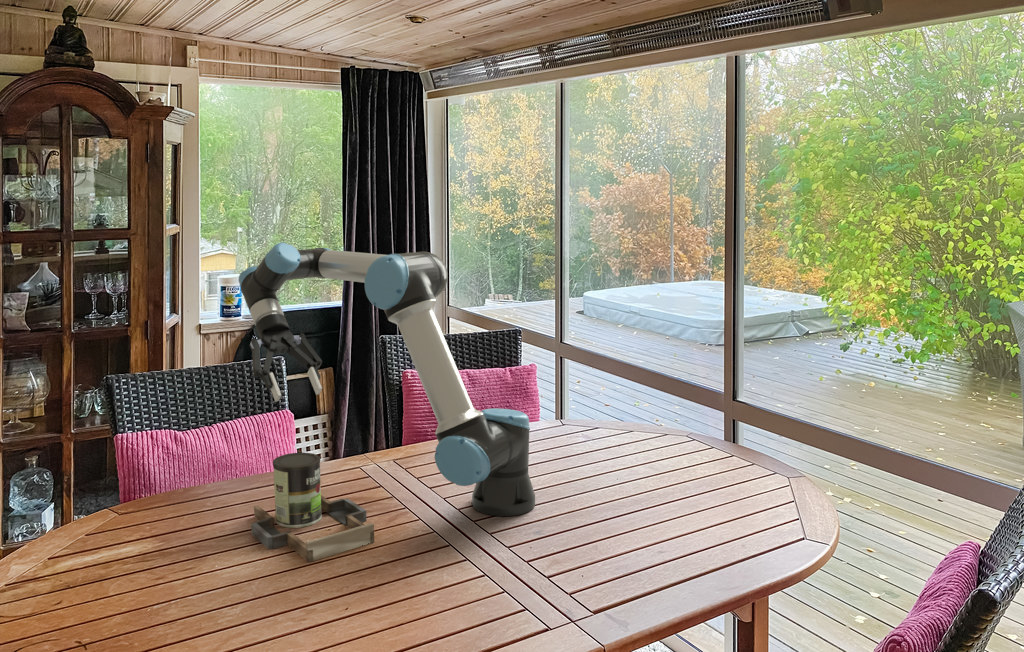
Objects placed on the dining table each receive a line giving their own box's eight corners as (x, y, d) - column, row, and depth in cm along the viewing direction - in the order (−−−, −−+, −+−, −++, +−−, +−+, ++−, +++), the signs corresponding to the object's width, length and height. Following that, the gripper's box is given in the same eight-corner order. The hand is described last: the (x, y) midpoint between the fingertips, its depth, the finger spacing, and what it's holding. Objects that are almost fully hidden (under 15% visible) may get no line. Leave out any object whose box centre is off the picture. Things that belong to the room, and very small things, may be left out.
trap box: (237, 521, 175) (236, 504, 174) (330, 497, 189) (330, 481, 189) (289, 568, 154) (289, 549, 153) (390, 536, 168) (390, 519, 168)
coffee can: (329, 511, 181) (327, 453, 178) (309, 530, 171) (307, 469, 169) (288, 507, 183) (286, 450, 180) (266, 525, 173) (263, 465, 171)
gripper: (307, 325, 206) (336, 396, 197) (222, 334, 192) (249, 410, 182) (315, 308, 201) (346, 379, 192) (229, 316, 187) (257, 393, 178)
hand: (299, 394), depth 187 cm, fingers open, 10 cm apart
